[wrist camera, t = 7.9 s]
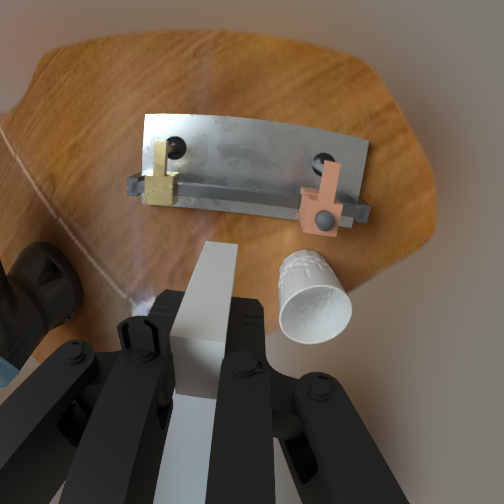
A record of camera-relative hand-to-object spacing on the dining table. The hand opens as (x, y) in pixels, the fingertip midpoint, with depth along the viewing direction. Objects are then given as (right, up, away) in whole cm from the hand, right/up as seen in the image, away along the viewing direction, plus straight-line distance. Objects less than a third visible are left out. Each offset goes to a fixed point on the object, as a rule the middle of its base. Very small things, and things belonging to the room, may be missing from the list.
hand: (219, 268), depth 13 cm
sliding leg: (+8, +9, +17) cm, 20 cm away
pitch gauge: (+2, +11, +18) cm, 21 cm away
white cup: (+8, -2, +24) cm, 25 cm away
